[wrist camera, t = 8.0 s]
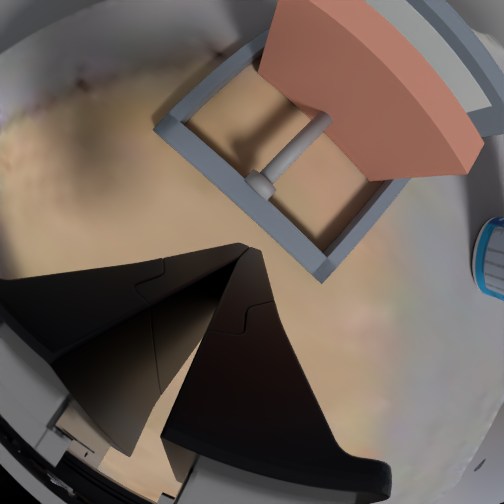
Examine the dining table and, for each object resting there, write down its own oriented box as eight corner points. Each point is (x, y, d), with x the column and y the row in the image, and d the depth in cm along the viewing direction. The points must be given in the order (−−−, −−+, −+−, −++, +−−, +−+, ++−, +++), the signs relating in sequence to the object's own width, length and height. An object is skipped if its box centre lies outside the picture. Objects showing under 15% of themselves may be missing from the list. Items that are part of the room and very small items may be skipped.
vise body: (316, 279, 20) (387, 343, 10) (156, 133, 17) (95, 76, 7) (439, 128, 19) (525, 108, 9) (315, 4, 16) (357, -71, 6)
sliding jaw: (311, 247, 19) (384, 290, 10) (190, 136, 17) (155, 75, 8) (387, 159, 18) (484, 142, 9) (280, 54, 16) (318, -33, 7)
